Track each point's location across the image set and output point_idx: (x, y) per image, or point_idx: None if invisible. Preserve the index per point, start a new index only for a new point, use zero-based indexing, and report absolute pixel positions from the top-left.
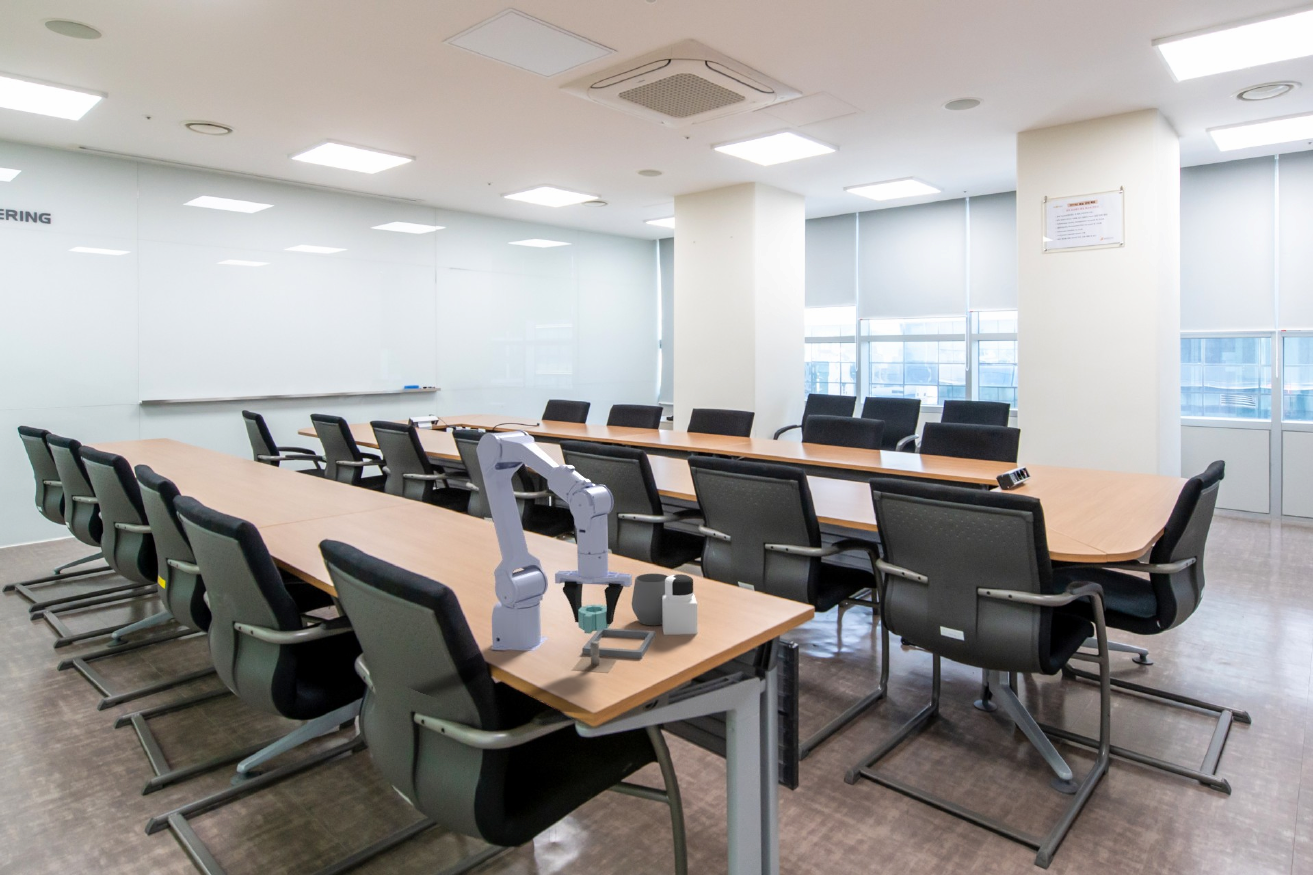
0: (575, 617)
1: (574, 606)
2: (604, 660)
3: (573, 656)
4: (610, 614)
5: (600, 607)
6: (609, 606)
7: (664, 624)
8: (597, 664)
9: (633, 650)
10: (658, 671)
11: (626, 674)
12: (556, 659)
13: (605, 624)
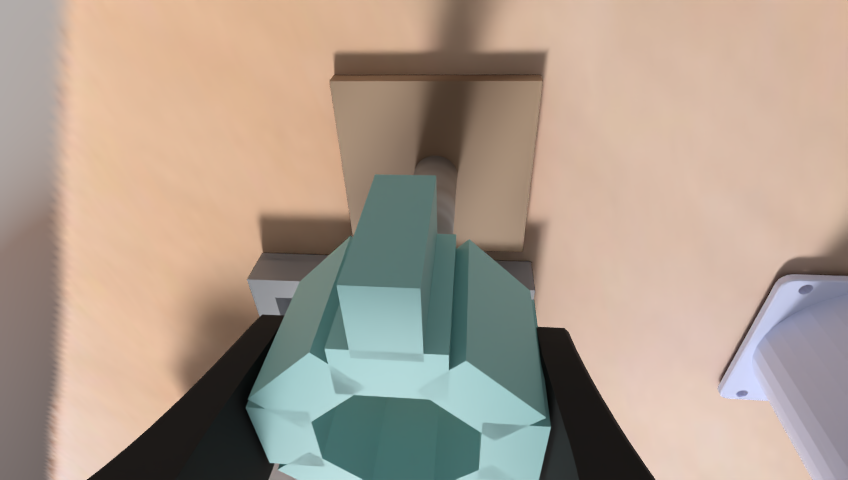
0: (568, 356)
1: (595, 457)
2: None
3: (575, 263)
4: (205, 376)
5: (362, 476)
6: (159, 449)
7: (274, 464)
8: (418, 164)
9: (291, 291)
10: (139, 168)
11: (254, 111)
12: (655, 224)
13: (289, 304)
